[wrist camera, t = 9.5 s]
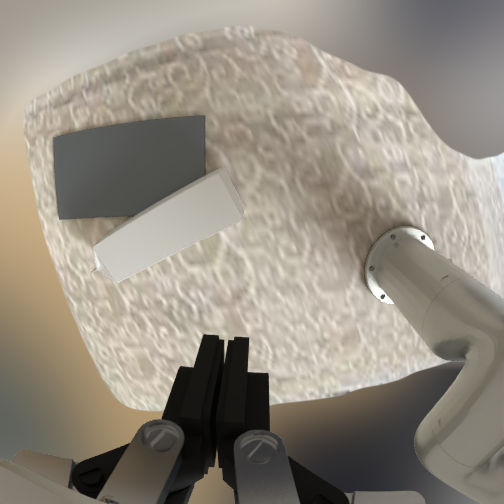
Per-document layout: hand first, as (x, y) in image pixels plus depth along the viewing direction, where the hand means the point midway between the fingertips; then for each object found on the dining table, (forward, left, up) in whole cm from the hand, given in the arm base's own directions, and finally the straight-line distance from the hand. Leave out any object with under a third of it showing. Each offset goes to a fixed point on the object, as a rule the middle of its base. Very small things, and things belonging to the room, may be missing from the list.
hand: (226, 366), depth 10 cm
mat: (+17, -6, -30) cm, 35 cm away
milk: (+1, -3, -26) cm, 26 cm away
